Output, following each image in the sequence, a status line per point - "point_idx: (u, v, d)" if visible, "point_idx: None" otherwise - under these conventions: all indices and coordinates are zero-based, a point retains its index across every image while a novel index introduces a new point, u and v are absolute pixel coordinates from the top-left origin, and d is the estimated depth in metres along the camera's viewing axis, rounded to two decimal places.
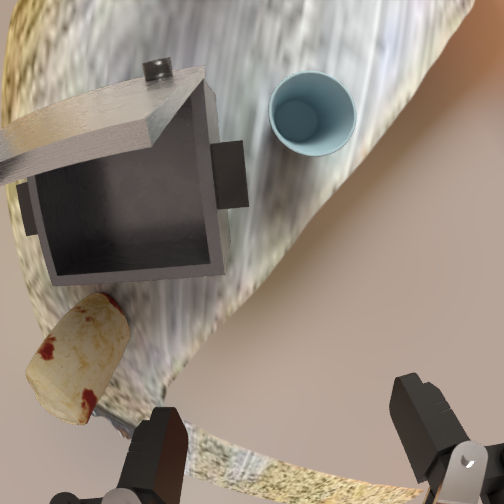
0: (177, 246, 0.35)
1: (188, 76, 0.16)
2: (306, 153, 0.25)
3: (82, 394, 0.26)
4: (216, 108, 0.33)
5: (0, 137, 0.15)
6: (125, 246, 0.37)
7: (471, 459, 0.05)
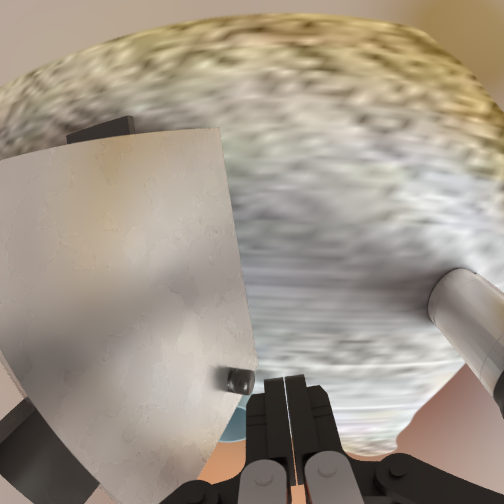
0: None
1: (225, 425, 0.21)
2: None
3: None
4: None
5: (151, 270, 0.14)
6: None
7: (327, 470, 0.06)
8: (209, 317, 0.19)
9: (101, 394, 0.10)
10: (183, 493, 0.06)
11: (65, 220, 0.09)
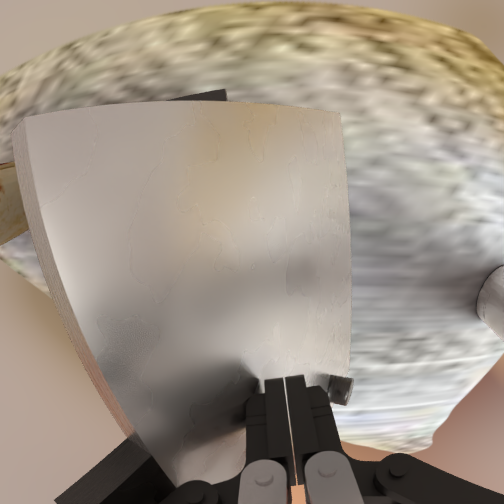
0: None
1: None
2: None
3: None
4: None
5: (288, 269, 0.12)
6: None
7: (326, 471, 0.06)
8: (325, 322, 0.17)
9: (225, 423, 0.09)
10: (183, 493, 0.06)
11: (210, 202, 0.08)
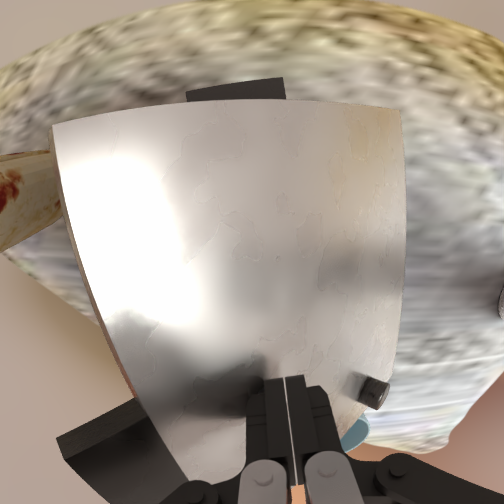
0: None
1: (342, 436, 0.18)
2: None
3: None
4: None
5: (322, 265, 0.12)
6: None
7: (327, 471, 0.06)
8: (365, 322, 0.16)
9: (231, 402, 0.10)
10: (183, 493, 0.06)
11: (231, 194, 0.08)
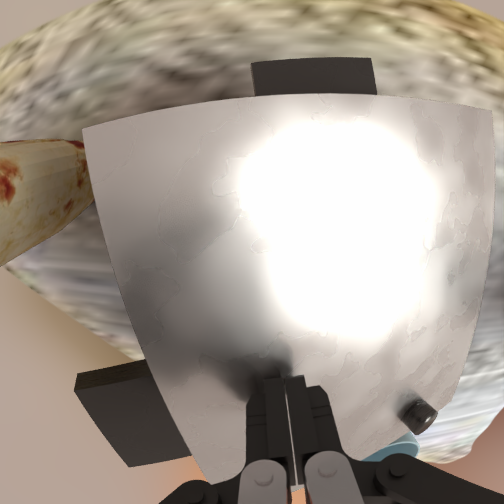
0: None
1: (375, 451, 0.16)
2: None
3: None
4: None
5: (367, 272, 0.11)
6: None
7: (327, 470, 0.06)
8: (422, 341, 0.13)
9: (240, 386, 0.10)
10: (183, 493, 0.06)
11: (253, 190, 0.09)
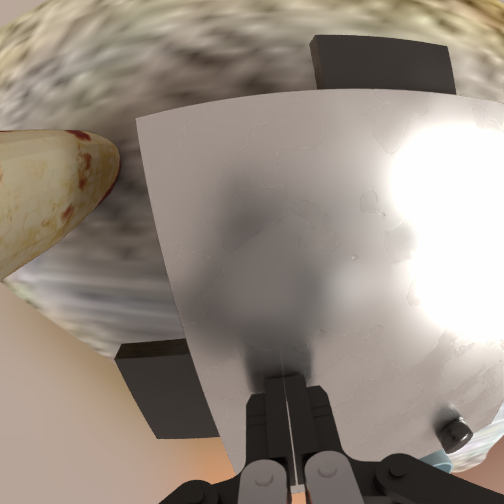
0: None
1: None
2: None
3: None
4: None
5: (417, 278, 0.10)
6: None
7: (327, 470, 0.06)
8: (468, 357, 0.11)
9: (275, 377, 0.11)
10: (183, 493, 0.06)
11: (302, 184, 0.08)
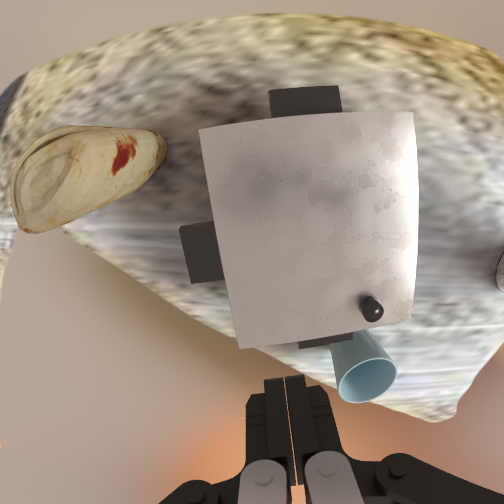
0: None
1: (342, 332, 0.29)
2: (340, 382, 0.33)
3: (67, 222, 0.19)
4: None
5: (312, 192, 0.24)
6: None
7: (327, 470, 0.06)
8: (360, 245, 0.26)
9: (251, 237, 0.26)
10: (183, 493, 0.06)
11: (257, 153, 0.23)
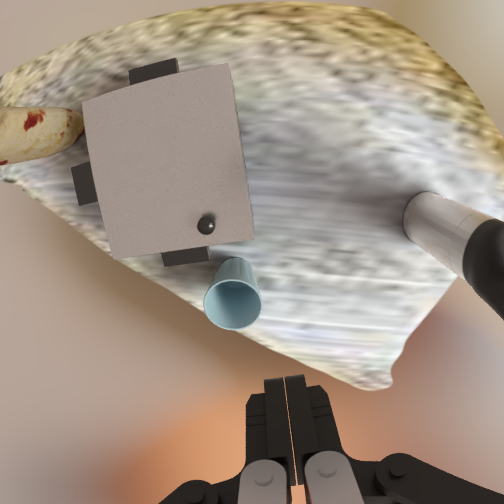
0: None
1: (189, 247, 0.36)
2: (204, 302, 0.40)
3: (3, 161, 0.26)
4: None
5: (148, 133, 0.32)
6: None
7: (327, 470, 0.06)
8: (189, 169, 0.33)
9: (111, 169, 0.33)
10: (183, 493, 0.06)
11: (114, 111, 0.30)
